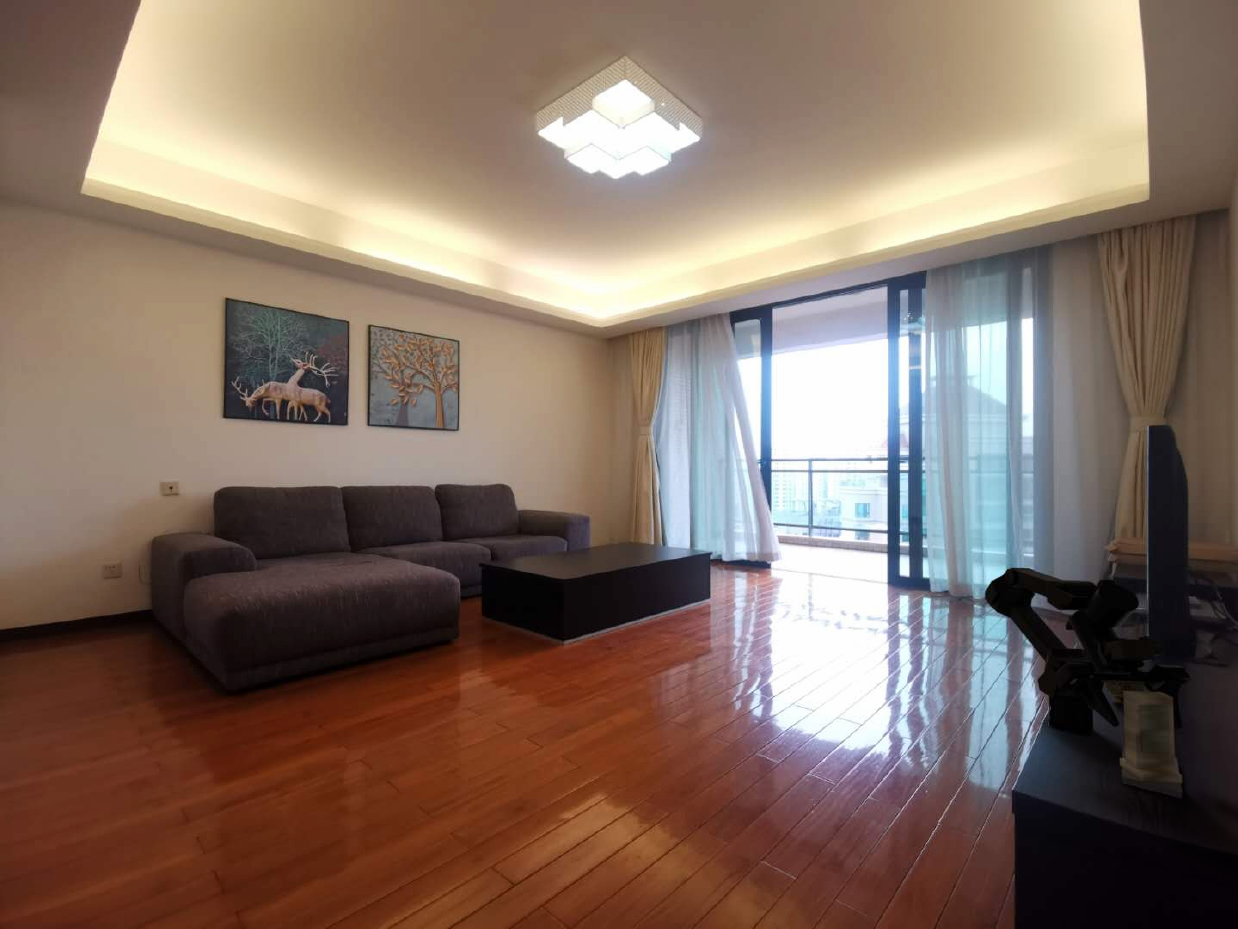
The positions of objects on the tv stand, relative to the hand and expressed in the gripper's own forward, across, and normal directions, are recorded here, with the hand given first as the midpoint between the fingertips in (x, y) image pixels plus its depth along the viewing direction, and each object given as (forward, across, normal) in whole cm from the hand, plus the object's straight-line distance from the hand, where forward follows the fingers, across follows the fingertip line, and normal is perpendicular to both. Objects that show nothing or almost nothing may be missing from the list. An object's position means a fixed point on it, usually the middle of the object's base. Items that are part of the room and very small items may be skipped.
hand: (1148, 727), depth 93 cm
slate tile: (+5, +2, +8) cm, 9 cm away
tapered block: (+5, 0, +5) cm, 7 cm away
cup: (-18, +19, +30) cm, 40 cm away
